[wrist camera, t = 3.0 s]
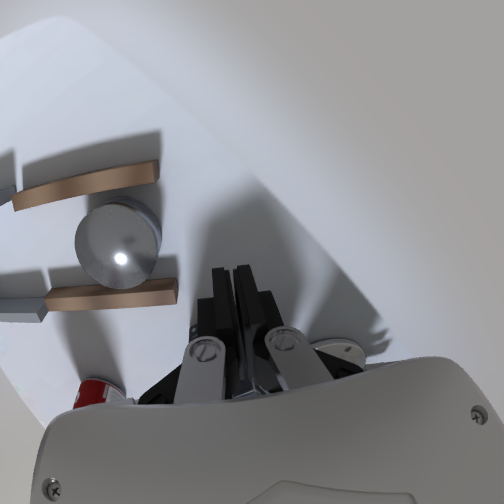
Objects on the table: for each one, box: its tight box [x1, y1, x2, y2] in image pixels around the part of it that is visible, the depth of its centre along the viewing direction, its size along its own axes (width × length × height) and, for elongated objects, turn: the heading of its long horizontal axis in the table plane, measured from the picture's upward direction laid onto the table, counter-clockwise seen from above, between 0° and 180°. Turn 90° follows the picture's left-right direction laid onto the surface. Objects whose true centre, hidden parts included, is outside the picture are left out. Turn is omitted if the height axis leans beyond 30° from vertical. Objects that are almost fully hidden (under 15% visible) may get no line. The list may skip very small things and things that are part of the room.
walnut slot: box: [11, 160, 178, 311], centre depth 21 cm, size 14×12×2 cm
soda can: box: [72, 378, 126, 410], centre depth 24 cm, size 7×7×12 cm
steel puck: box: [75, 197, 162, 289], centre depth 21 cm, size 7×7×3 cm
